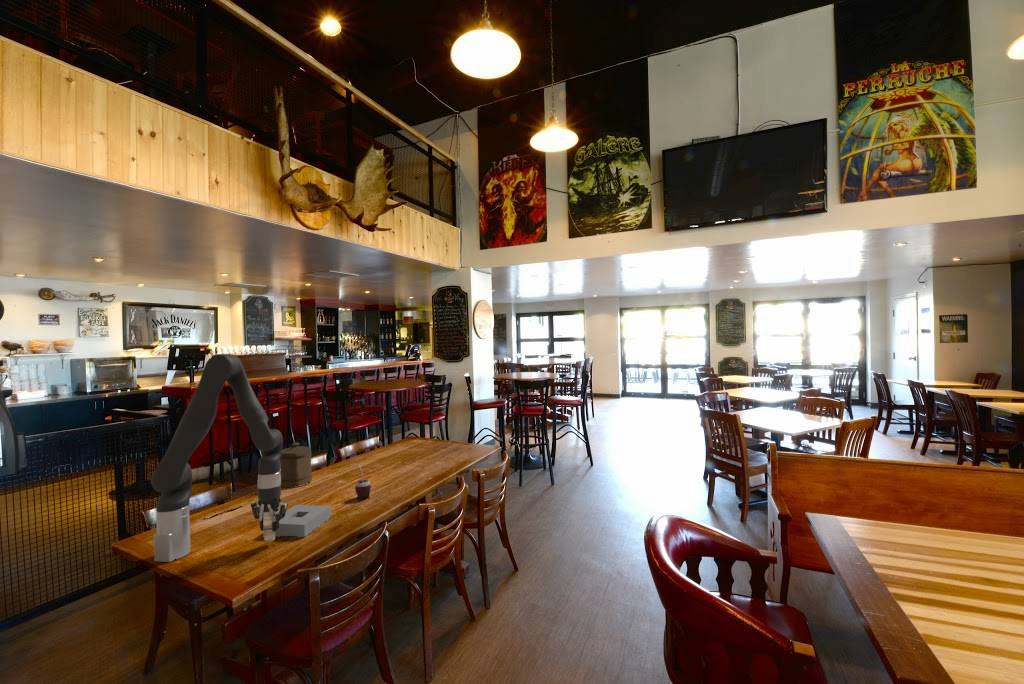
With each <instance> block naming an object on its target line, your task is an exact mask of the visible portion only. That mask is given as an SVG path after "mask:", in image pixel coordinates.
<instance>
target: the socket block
mask: <svg viewBox="0 0 1024 684" xmlns="http://www.w3.org/2000/svg"><path fill="white" fill-rule="evenodd" d="M329 518H330V519H331V506H329V505H308V504H306V505H305V504H304V505H303V504H295V505H293V506H292V507H290V508H287V510H286V514H285V517H284V518H282V519H281V520H279V529H278V530H277V531H276V534H275V537H280V536H298V537H297V538H301V537H305V536H306V537H308V536H309V535H310V534H311V532H312V531H313V530H314V529H315V530H317V529H318V528H319V527H321V526H323V524H324V522H325V521H326V522H327V521H329V520H330V519H329ZM326 522H325V523H326ZM320 525H321V526H320ZM317 527H318V528H317ZM316 528H317V529H316ZM315 530H314V531H315ZM314 531H313V532H314ZM313 532H312V533H313ZM309 533H310V534H309ZM308 534H309V535H308ZM307 535H308V536H307ZM306 537H305V538H306Z"/></svg>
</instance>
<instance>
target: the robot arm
mask: <svg viewBox="0 0 1024 684" xmlns="http://www.w3.org/2000/svg"><path fill="white" fill-rule="evenodd" d="M226 382H227V384H228V385H229V387H230V388H231V390H232V392H233V394H234V398H235V401H236V406H237V409H238V412H239V414H240V415H241V417H242V419H243V421H244V423H245V424H246V426H247V427H248V429H249V430H248V431H249V435H250V437H251V441H252V442H253V445H254V446H255V448H256V449H257V450H259V451H260V452H262V455H261V457H260V458H259V460H258V464H257V465H258V467H257V468H258V472H257V473H258V475H257V499H258V500H255V501H254V502H252V503H250V507H251V510H252V514H253V519H255V520H258V521H259V529H260V531H261V532H263V512H270V515H271V516H272V519H273V522H272V525H273V532H275V531H277V530H278V529H279V520H281V519H282V518H284V517H285V514H286V511H287V510H288V506H289V503H288V502H283V501H282V500H281V496H282V487H281V474H280V456H281V451H282V450H283V446H284V445H283V444H284V439H283V434H282V432H281V431H280V430H279V429H275V428H271V429H270V427H269V425H268V422H269V417H268V414H267V413H266V411H265V409H264V408H263V406H262V404H261V403H260V401H259V400H258V398H257V396H256V394H255V391H254V390H253V388H252V386H251V383H250V381H249V379H248V375H247V374H246V371H245V368H244V366H243V363H242V361H241V359H240V358H239V357H238V356H237V355H234V354H232V353H220V354H219V353H218V354H215V355H212V356H211V357H210V358H208V359H207V361H206V362H205V365H204V368H203V371H202V373H201V376H200V379H199V382H198V384H197V387H196V389H195V391H194V394H193V396H192V397H191V399H190V401H189V403H188V405H187V408H186V409H185V410H184V413H183V415H182V417H181V419H180V421H179V424H178V426H177V429H176V430H175V432H174V435H173V436H172V439H171V441H170V443H169V446H168V448H167V450H166V452H165V454H164V456H162V458H161V460H160V462H159V464H158V465H157V467H156V468H155V469H154V472H153V473H152V474H151V475H152V476H151V479H150V484H151V486H152V488H153V490H154V491H156V492H157V493H158V492H159V493H161V494H160V496H159V498H158V500H157V501H156V508H155V510H156V513H155V514H156V516H155V517H156V533H154V534H153V549H154V550H153V552H154V553H153V555H154V559H153V561H154V562H161V563H163V562H164V563H170V562H173V561H175V559H176V560H178V559H181V558H183V557H185V556H187V555H188V554H190V552H191V527H190V526H191V523H190V521H191V520H190V519H191V518H190V517H191V516H190V500H191V499H190V498H191V497H192V492H193V471H192V468H191V465H190V464H189V462H188V461H189V460H190V458H191V456H192V455H193V453H194V451H195V450H196V449H197V448H198V447H199V445H200V444H201V442H203V441H204V439H205V438H206V436H207V435H208V433H209V431H210V429H211V428H212V426H213V423H214V422H215V419H216V416H217V411H218V401H219V396H220V394H221V393H220V392H221V390H222V389H223V387H224V385H225V384H226ZM274 511H276V512H274Z"/></svg>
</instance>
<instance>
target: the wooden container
mask: <svg viewBox="0 0 1024 684" xmlns="http://www.w3.org/2000/svg"><path fill="white" fill-rule="evenodd" d="M299 445H300V443H299V442H298V441H295V442H293V443H292V445H291V447H287V448H284V449H283V448H282V451H281V456H280V474H281V486H283V487H282V488H284V487H294V488H296V487H295V486H299V485H303V484H306V483H308V482H310V481H311V480H312V479H313V478H312V477H313V476H312V457H311V456H312V454H311V453H312V450H311V447H310V446H299ZM312 481H313V480H312ZM312 481H311V482H312ZM311 482H310V483H311Z"/></svg>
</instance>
